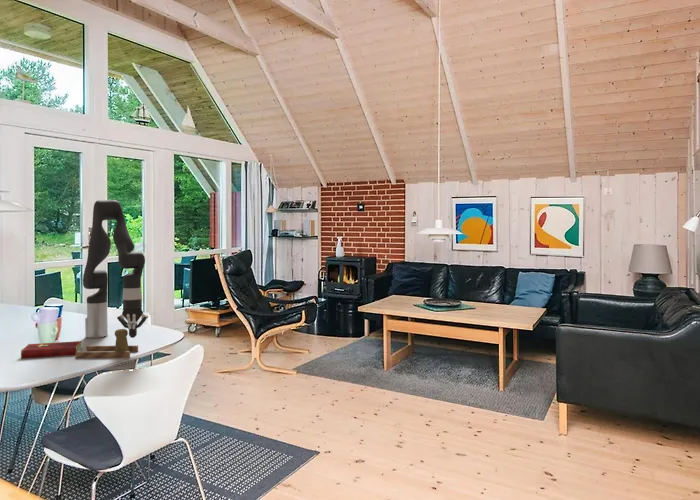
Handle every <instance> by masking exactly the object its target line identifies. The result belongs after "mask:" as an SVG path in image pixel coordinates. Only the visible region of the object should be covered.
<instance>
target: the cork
mask: <svg viewBox="0 0 700 500" xmlns="http://www.w3.org/2000/svg"><path fill="white" fill-rule="evenodd" d="M128 336H129V330H127V328H119V329H117V330H115V331H114V337H115V345H114V346H115V351H129V348H128V345H129V343H128V342H129V341H128V338H127V337H128Z"/></svg>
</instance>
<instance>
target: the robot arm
mask: <svg viewBox="0 0 700 500" xmlns="http://www.w3.org/2000/svg"><path fill="white" fill-rule="evenodd" d="M125 218H126V217H125V215H124V211H123V208H122V205H121V203H120V201H118V200H116V199H100V200H96V201H95V202H94V203H93V211H92V226H91V233H90V238H89V243H88V249H87V251H88V252H87V259H86V264H85V267H84V272H83V275H82V287H83V288H84V289H86V290H96V289H97V290H98V291H97V292H95V293H93V294H92V295H88V296H87V297H86V317H85V318H84V320H85V321H84V323H85V325H84V328H85V333H84V334H85V338H91V339H92V338H93V339H97V338H98V339H99V338H104V336H105V337H107V336H108V335H109V334H108V325H109V324H108V285H109V284H108V283H109V276H108V272H107V270H103V269H102V270H101V269H100V270H99V269H96V268H97V267H98V266H99V265H100V264H101V263H103V262H104V261H105V259H107V257H108V256H109V255H110V251H111V246H112V240H113V242H114V243H113V244H114V245H115V247H116V250H117V256H118V265H119V266H120V267H121V269H124V270H125V269H126V270H128V269H132V272H130V273H126V274H124V276H123V278H122V279H123V283H122V284H123V289H122V290H123V291H122V313H121V315H119V316H116V319H117V320H118V321H119V322H120V324H121V325H122V326H123V328H124V329H128V336H129V338H132V339H134V338H135V337H136V336H137V335H138V330H137V329H139V328H141V327H142V326H143V324H144V323H145V322H146V321H147V320H148V318H149V316H148V315H145V314H144V312H143V303H142V302H143V293H142V276H143V275H142V274H143V271H144V267H145V263H146V258H145V255H144V254H143V253H142V252H140V251H136V252H135V251H134V249H135V245H134V244H135V243H134V242H133V240H132V237H131V236H130V233H129V230H128V227H127V223H126V219H125ZM112 220H113V221H114V220H115V222H116V224H115V225H116V226H115V227H114V230H113V234H112V240H111V238H110V236H109V235H108V233H107V232H106V230H105V229H104V226H103V221H112ZM140 319H141V320H140ZM139 320H140V321H139Z"/></svg>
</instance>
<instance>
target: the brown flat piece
mask: <svg viewBox="0 0 700 500" xmlns="http://www.w3.org/2000/svg"><path fill="white" fill-rule="evenodd" d="M128 348H129V351H115V345H86V346H85V350H86V351H84V350H83V351H79V352H75V353H76V355H75V359H118V358H119V359H123V358H124V359H129V358H131V352H137V353H138V352H139V344H138V345H134V344H133V345H132V344H131V345H129V344H128Z"/></svg>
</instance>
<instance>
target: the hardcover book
mask: <svg viewBox="0 0 700 500" xmlns="http://www.w3.org/2000/svg"><path fill="white" fill-rule="evenodd" d="M82 342H83V341H82V340H80V341H79V340H77V341H75V340H74V341H62V342H60V341H59V342H41V343H40V342H39V343H27V345H26V346H25V347H23V348H22V349H21V350H20V359H37V358H53V357H54V358H55V357H68V356H69V357H70V356H76V353H75V352H81V349H82Z"/></svg>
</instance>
